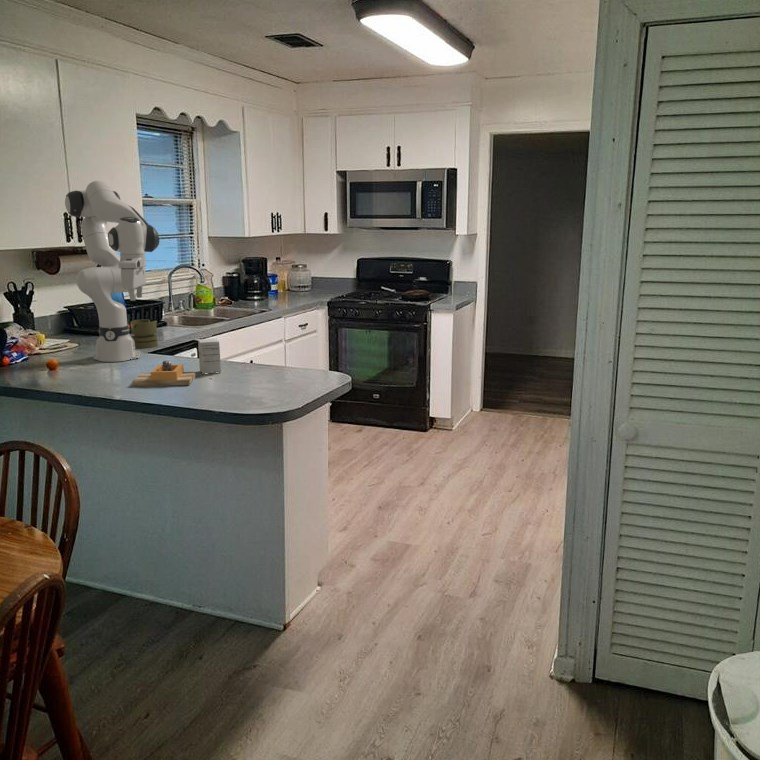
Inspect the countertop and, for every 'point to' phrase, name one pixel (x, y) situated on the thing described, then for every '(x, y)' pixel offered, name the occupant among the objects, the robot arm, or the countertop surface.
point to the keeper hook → (167, 366)
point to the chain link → (167, 372)
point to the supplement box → (209, 355)
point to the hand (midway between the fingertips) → (136, 298)
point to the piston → (144, 333)
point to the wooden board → (145, 380)
